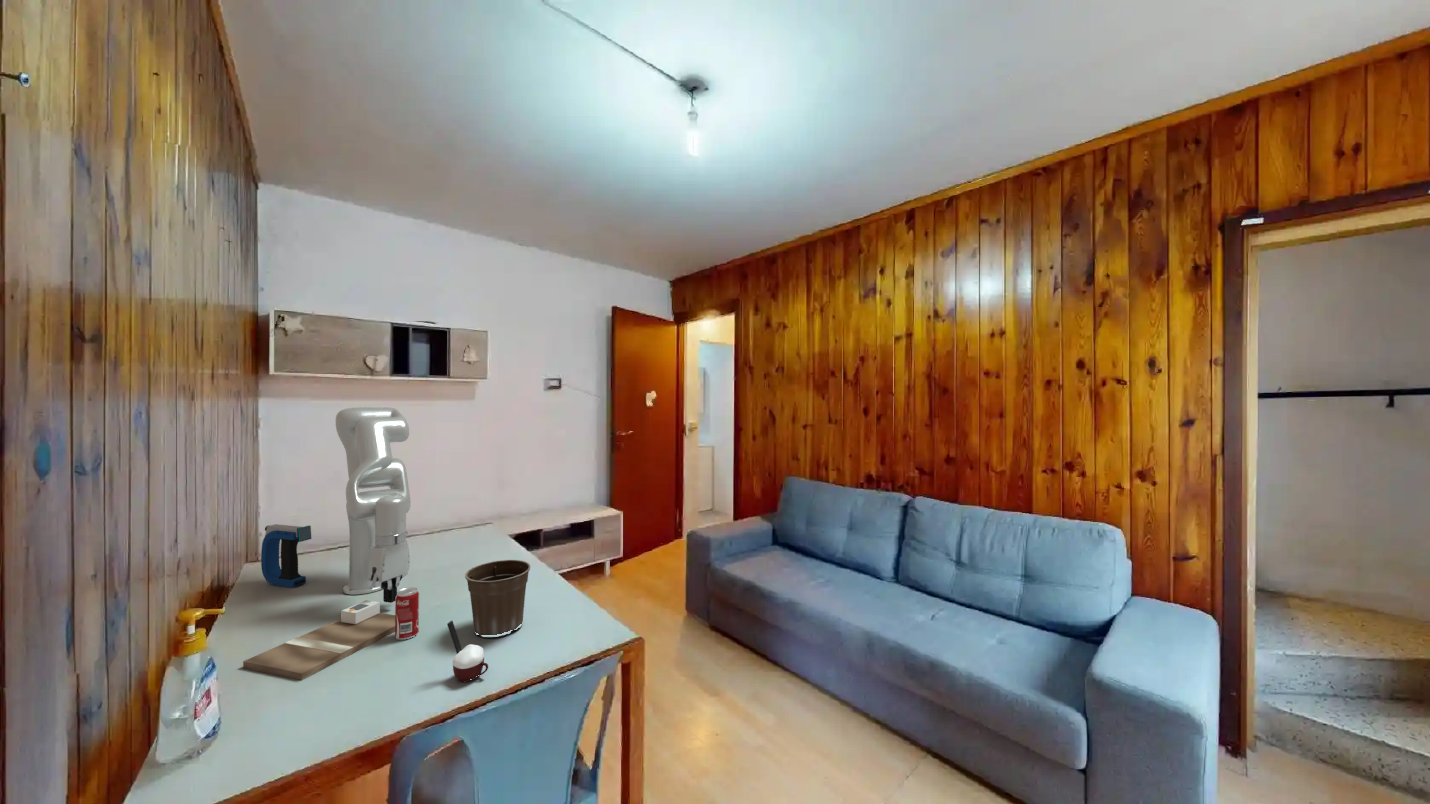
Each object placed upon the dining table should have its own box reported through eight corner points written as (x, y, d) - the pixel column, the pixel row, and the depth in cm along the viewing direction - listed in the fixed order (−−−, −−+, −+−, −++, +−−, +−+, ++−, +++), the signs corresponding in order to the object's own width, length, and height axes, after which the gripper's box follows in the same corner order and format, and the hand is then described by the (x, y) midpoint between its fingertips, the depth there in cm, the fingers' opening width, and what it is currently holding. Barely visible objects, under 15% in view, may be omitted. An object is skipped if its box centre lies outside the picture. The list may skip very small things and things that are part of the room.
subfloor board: (360, 615, 137) (360, 609, 137) (411, 623, 133) (411, 617, 133) (243, 667, 110) (243, 661, 110) (301, 680, 106) (301, 673, 106)
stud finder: (365, 610, 136) (366, 599, 136) (379, 613, 135) (379, 601, 135) (341, 621, 129) (341, 610, 129) (355, 624, 128) (355, 612, 128)
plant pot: (464, 649, 119) (464, 585, 119) (464, 622, 134) (465, 564, 134) (533, 635, 127) (533, 574, 127) (526, 610, 141) (527, 556, 141)
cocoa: (492, 677, 108) (496, 624, 108) (466, 691, 103) (470, 635, 103) (466, 664, 113) (470, 613, 113) (440, 676, 107) (444, 622, 107)
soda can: (402, 631, 128) (402, 586, 128) (422, 630, 128) (422, 586, 128) (390, 641, 123) (391, 594, 123) (411, 640, 123) (412, 594, 123)
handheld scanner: (298, 589, 155) (299, 528, 155) (259, 584, 158) (260, 525, 158) (312, 584, 159) (314, 525, 160) (274, 579, 163) (275, 522, 163)
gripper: (402, 531, 149) (402, 590, 149) (355, 545, 134) (355, 610, 134) (422, 533, 147) (421, 592, 147) (377, 547, 132) (376, 613, 132)
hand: (390, 601), depth 141 cm, fingers closed
